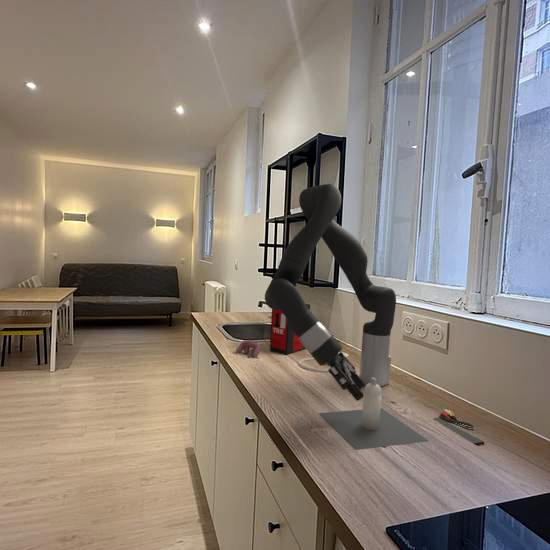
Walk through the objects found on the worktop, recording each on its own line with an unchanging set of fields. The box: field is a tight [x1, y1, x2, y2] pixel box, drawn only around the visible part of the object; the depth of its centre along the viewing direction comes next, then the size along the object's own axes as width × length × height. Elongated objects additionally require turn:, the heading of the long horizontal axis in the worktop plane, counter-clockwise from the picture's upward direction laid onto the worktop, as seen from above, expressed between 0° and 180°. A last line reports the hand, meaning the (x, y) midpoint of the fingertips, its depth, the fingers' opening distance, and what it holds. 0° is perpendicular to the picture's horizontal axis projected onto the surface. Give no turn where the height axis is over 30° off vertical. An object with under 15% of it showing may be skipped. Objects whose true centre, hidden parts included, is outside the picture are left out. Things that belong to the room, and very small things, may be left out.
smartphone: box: [432, 417, 485, 446], centre depth 104 cm, size 7×1×15 cm
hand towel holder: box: [297, 351, 349, 373], centre depth 157 cm, size 17×4×21 cm
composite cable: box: [437, 408, 475, 429], centre depth 110 cm, size 10×5×2 cm, turn 25°
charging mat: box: [317, 407, 430, 451], centre depth 103 cm, size 20×20×1 cm
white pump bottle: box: [361, 377, 383, 430], centre depth 103 cm, size 4×4×12 cm
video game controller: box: [235, 339, 263, 359], centre depth 166 cm, size 10×5×7 cm, turn 58°
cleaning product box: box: [269, 303, 311, 356], centre depth 177 cm, size 16×9×20 cm, turn 144°
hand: (361, 392), depth 103 cm, fingers open, 8 cm apart
